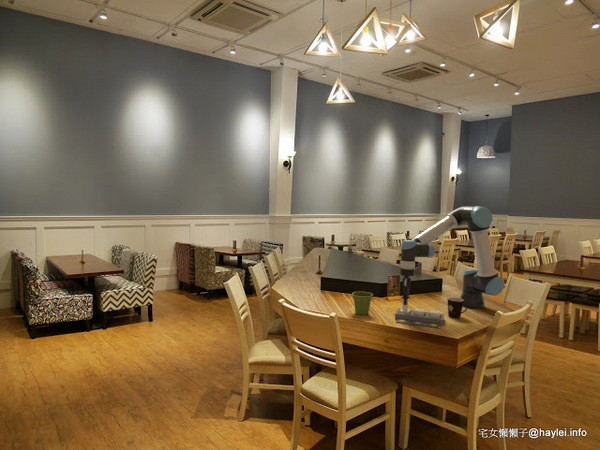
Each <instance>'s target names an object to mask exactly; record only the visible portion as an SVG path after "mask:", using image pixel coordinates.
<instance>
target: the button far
mask: <svg viewBox="0 0 600 450" xmlns="http://www.w3.org/2000/svg"><path fill="white" fill-rule="evenodd" d="M400 309H401V310H400V313H406V314H410V310H411V309H408V310H407V311H406V310H402V308H400Z"/></svg>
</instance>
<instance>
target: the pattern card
mask: <svg viewBox="0 0 600 450" xmlns="http://www.w3.org/2000/svg"><path fill="white" fill-rule="evenodd" d="M395 322H396V324H402V325H403V324H405V325H412V326H418V327H424V328H425V327H426V328H432V329H440V328H439V327H440V326H441V325H440V324H433V323H426V322H419V321H411V320H404V319H396V321H395Z"/></svg>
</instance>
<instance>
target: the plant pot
mask: <svg viewBox="0 0 600 450" xmlns="http://www.w3.org/2000/svg"><path fill="white" fill-rule="evenodd" d="M351 295H352V297H353V303H354V312H355V314H356V315H359V316H360V315H361V316H362V315H363V316H366V315H369V312H370V307H371V301H372V298H373V296H374V294H373V293H372V292H367V291H354V292H352V293H351Z"/></svg>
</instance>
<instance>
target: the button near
mask: <svg viewBox="0 0 600 450" xmlns="http://www.w3.org/2000/svg"><path fill="white" fill-rule="evenodd" d="M429 312H430V317H437V318H440V314H441V311H438V310H430V311H429Z"/></svg>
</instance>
